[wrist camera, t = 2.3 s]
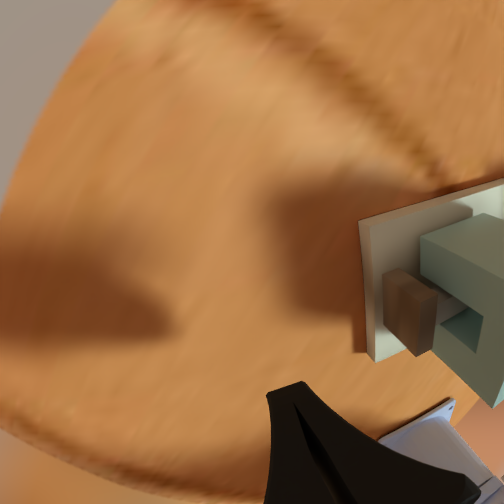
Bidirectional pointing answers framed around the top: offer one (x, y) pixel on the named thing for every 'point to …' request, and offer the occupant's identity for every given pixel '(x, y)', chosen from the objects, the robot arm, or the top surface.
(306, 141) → the top surface
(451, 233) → the sleeve
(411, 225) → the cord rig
